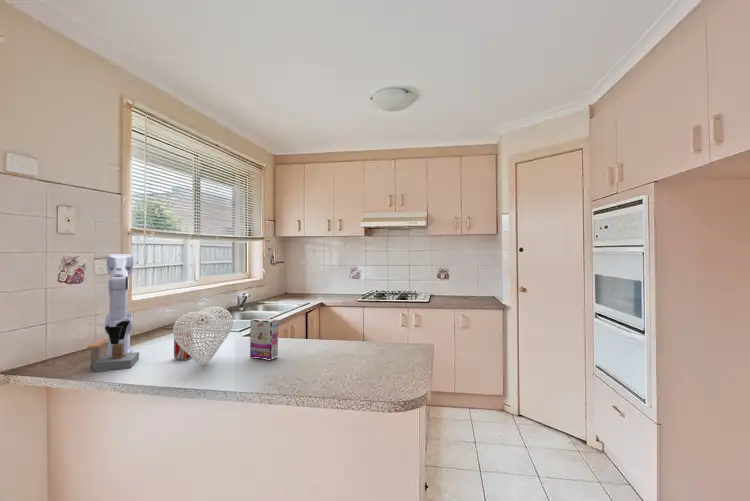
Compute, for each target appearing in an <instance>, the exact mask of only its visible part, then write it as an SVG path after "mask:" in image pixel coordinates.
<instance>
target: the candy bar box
mask: <svg viewBox="0 0 750 501" xmlns="http://www.w3.org/2000/svg"><path fill="white" fill-rule="evenodd" d="M278 334H279V320H278V319H271V318H258V317H257V318H254V319H253V318H252V319H250V335H249V336H250V338H249V340H250V341H249V342H250V343H249V344H250V346H249V347H250V350H249V351H250V352H249V356H250V357H260V358H267V359H272V358H274V357H276V356H278V353H279V352H278V349H279V348H278V347H279V345H278V344H279V335H278Z"/></svg>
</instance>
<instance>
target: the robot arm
mask: <svg viewBox="0 0 750 501" xmlns="http://www.w3.org/2000/svg"><path fill="white" fill-rule="evenodd" d="M106 268H107V269H106V271H107V273H108V275H110V278H108V284H107V286H108V287H107V288H108V296H109V303H108V304H109V308H108V310H109V313H108V314H106V316H105V320H104V333H105V334H107V335H108V342H107V343H108V344H107V345H108V347H107V348H108V349H107V350H108V353H107V354H112V346H113V345H114V344H122V343H124V353H132V351H133V349H132V348H131V335H130V332H132V331H133V314H132V312H129V311H128V292H129V290H130V289H129V287H130V286H129V283H130V282H129V280H130V279H129V275H131V274H133V270H134V254H133V253H129V254H128V253H121V254H120V253H108V254H106Z"/></svg>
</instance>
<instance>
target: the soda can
mask: <svg viewBox="0 0 750 501" xmlns="http://www.w3.org/2000/svg"><path fill="white" fill-rule="evenodd" d="M177 331H178V329H177ZM180 331H181V328H180ZM184 331H185V328H184ZM187 331H188V328H187ZM189 332H190V331H189ZM191 332H192V331H191ZM179 334H180V333H179ZM189 334H190V333H189ZM175 335H176V333H175ZM187 335H188V333H187ZM191 335H192V334H191ZM191 335H189V336H190V338H191ZM177 336H178V333H177ZM180 336H181V334H180ZM182 336H183V333H182ZM184 338H185V334H184ZM187 338H188V336H187ZM176 339H177V338H176ZM178 340H179V339H178ZM180 340H181V339H180ZM183 340H184V339H183ZM190 340H191V341H192V339H190ZM181 342H182V341H181ZM183 342H184V341H183ZM186 342H187V340H186ZM184 343H185V342H184ZM188 343H189V340H188ZM191 343H193V342H191ZM187 345H188V344H187ZM189 345H190V344H189ZM192 345H193V344H192ZM193 346H194V345H193ZM185 347H186V345H185ZM188 347H189V346H188ZM183 348H184V347H183ZM189 349H190V348H189ZM187 350H188V349H187ZM190 350H191V349H190ZM188 352H189V351H188ZM191 352H192V351H191ZM190 354H191V353H190ZM173 358H174V359H175V360H177V361H187V360H189V359H190V358H192V357H191V356H190V355H189V354H188V353H186V352H185V351H184V350H183V349H182V348H181V347H180V346H179V345H178V344H177V342H176V341H175V339H174V338H173Z"/></svg>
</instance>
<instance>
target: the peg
mask: <svg viewBox="0 0 750 501" xmlns="http://www.w3.org/2000/svg"><path fill="white" fill-rule="evenodd" d="M123 357H124V343H122V344H114V345H113V346H112V359H120V358H123Z"/></svg>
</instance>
